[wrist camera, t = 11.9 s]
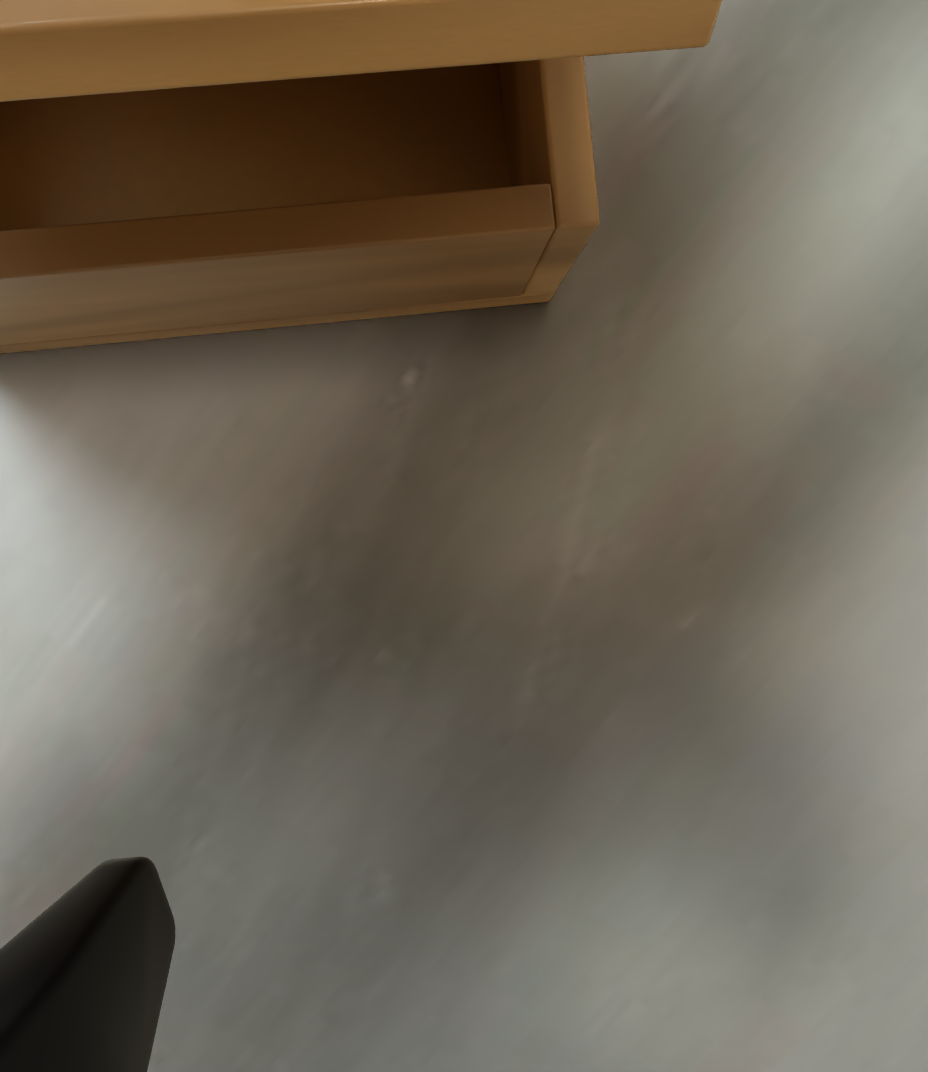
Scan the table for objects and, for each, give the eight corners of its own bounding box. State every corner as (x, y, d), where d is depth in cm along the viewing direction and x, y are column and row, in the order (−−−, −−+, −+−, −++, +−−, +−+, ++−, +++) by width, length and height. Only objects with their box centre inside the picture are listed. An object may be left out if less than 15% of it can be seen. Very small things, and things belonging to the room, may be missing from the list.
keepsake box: (550, 301, 19) (601, 224, 14) (-34, 357, 18) (-213, 298, 13) (498, -199, 19) (532, -476, 13) (-104, -163, 18) (-320, -442, 13)
